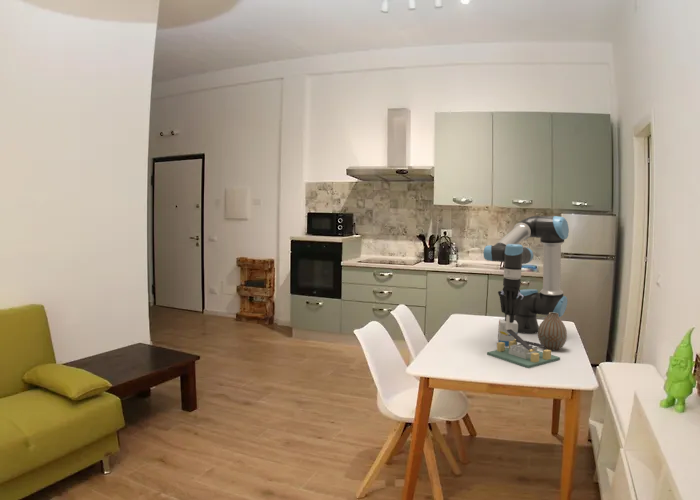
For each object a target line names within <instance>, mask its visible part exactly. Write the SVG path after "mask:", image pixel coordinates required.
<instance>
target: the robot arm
mask: <svg viewBox="0 0 700 500" xmlns="http://www.w3.org/2000/svg"><path fill="white" fill-rule="evenodd" d="M569 232H570V231H569V224H568V221H567V219H566V218H565V217H564V216H559V215H558V216H557V215H532V216H528V217H526V218H523V219H521V220H520V221H518V222H517V223H516V224H514V226H513V227H512V229H511V230H510V231H509V232H508V233H507V234H506V235H505V236H503V237H502V238H501V239H499V241H497V242H496V243H495V244H494V245H486V246H485V247H484V249H483V253H482V254H483V259H484V260H486V261H488V262H489V261H491V262H500V263H504V267H503V279H502V286H503V287H502V290H500V291H498V292H497V294H498V296H499V302H500V311H501V313H503V314H504V319H505V321H506V329H507V330H510V329H512V323H513V322H514V320H516V322H517V323H518V333H519V334H526V335H529V334H532V335H533V334H538V329H539V326H540V325H539V324H538V319H537V316H538V315H540V316H546V317H547V316H548V314H549V312H554V313H558V315H559V318H561V317H562V316H563V315H564V314H565V313H566V312H565V311H566V309H567V306H568V297H567V296H565V295H564V290H562V289H561V277H562V276H561V271H562V270H561V269H562V268H561V267H562V266H561V265H562V264H561V261H562V245H563V244H564V243H565V240H567V239H568V237H569ZM529 238H539V239H540V241H539V242H540V244H542V245H543V248H542V249H543V253H542V255H543V257H542V259H543V260H542V262H543V263H542V269H543V270H542V277H543V278H542V289H540V291H539V290H538V289H535V288H533V289H532V288H529V289H528V288H527V289H520V288H521V285H522V284H521V282H522V281H521V280H522V279H521V278H522V269H523V268H522V265H525V264H528V263H531V262H532V261H533V259H534V252H533V250H532V249H531V248H530V247H523V245H522V244H521V243H522V242H523V241H525V240H528V239H529Z"/></svg>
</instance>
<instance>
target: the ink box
mask: <svg viewBox="0 0 700 500" xmlns="http://www.w3.org/2000/svg"><path fill="white" fill-rule="evenodd" d="M511 330H513V331H514V332H515V333H516V334H517V335H518V333H519V332H518V323H517V322H516V320H514V322H513V323H512V329H511ZM497 332H498V333H497V343H498V342H504V343H505V347H509V341H513V340H515V338H514V337H513V336H512V335H511V334H510V333H508V332H507V329H506V321H505V318H504V319H503V318H502V319H501V318H500V319H498V331H497ZM518 336H519V335H518Z"/></svg>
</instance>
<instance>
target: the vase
mask: <svg viewBox="0 0 700 500" xmlns="http://www.w3.org/2000/svg"><path fill="white" fill-rule="evenodd" d="M538 326H539V329H538V333H537V339H538V342H539V344H543V345H544V347H543V348H544V350H547V349H548V350H551V351H559V350H560V349H561V348H563V347H564V346H565V344H566V342H567V338H568V331H567V328H566V325H565V323H564V322H563V321H562V319H561V317H559V315H558V313H554V312H549V314H548V316H547V315H546V317H545V318H544V319H543V320H542V322H541V323H540V324H539V325H538Z"/></svg>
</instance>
